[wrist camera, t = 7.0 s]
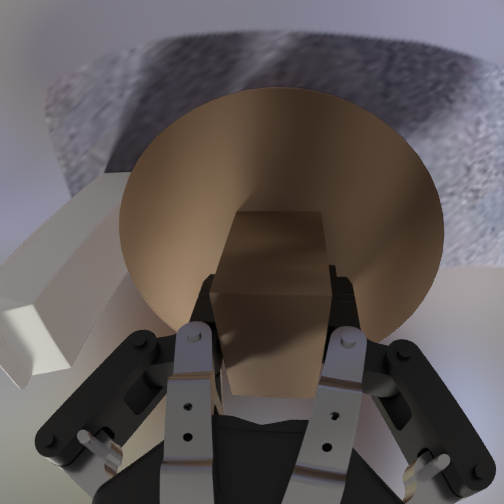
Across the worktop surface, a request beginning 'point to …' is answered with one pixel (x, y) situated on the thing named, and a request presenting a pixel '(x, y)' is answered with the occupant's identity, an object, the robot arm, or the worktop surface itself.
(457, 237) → the worktop surface
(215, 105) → the lid
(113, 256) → the milk
